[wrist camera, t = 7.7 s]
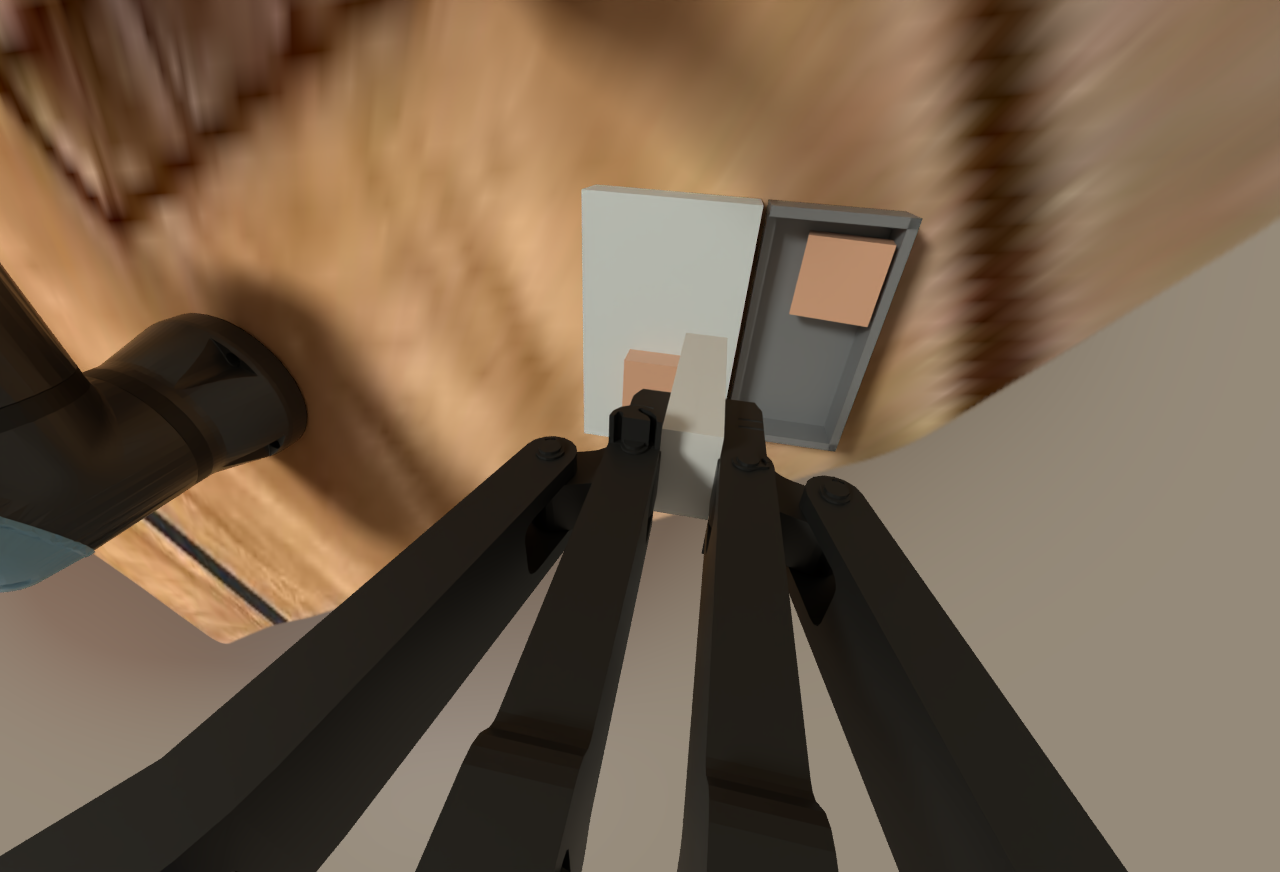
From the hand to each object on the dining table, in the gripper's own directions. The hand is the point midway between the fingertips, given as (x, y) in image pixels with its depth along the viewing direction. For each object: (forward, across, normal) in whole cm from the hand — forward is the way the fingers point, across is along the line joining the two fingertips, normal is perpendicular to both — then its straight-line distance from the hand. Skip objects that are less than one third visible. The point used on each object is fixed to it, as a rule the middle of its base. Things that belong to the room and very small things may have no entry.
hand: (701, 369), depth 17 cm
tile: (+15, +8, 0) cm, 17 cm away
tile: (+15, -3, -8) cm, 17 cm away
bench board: (+18, -3, -5) cm, 19 cm away
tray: (+18, +7, -4) cm, 20 cm away
